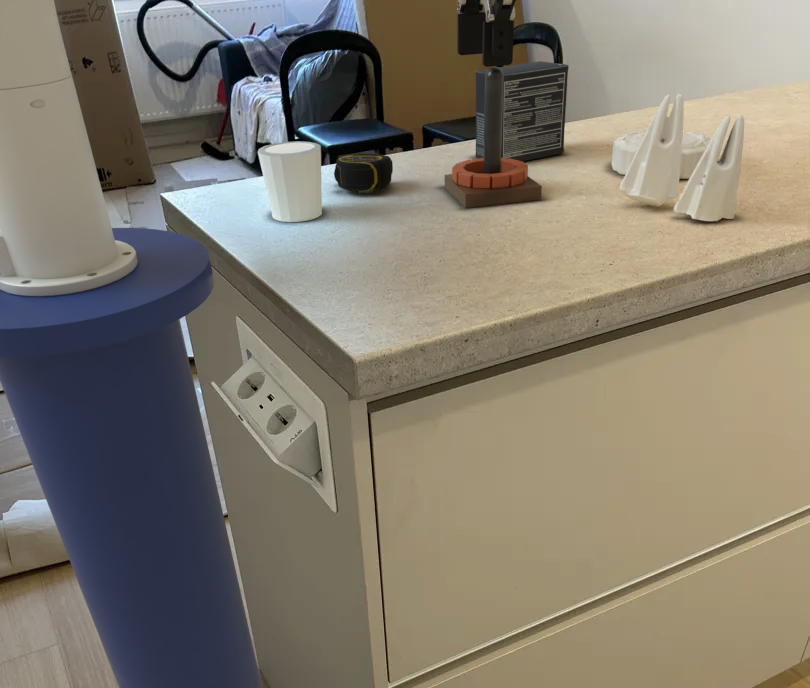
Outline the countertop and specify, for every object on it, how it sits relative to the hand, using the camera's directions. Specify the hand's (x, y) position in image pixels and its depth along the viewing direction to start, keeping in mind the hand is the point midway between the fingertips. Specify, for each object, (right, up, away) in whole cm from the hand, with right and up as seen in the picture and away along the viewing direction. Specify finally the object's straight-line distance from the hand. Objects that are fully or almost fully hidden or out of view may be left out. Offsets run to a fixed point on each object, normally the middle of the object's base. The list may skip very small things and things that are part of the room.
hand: (483, 59), depth 89 cm
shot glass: (-21, -17, +2) cm, 27 cm away
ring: (+1, -11, +5) cm, 12 cm away
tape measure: (-14, -10, +9) cm, 20 cm away
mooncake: (+23, -7, +11) cm, 27 cm away
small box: (+7, -2, +19) cm, 20 cm away
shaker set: (+20, -19, -3) cm, 27 cm away
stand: (+1, -13, +5) cm, 14 cm away
